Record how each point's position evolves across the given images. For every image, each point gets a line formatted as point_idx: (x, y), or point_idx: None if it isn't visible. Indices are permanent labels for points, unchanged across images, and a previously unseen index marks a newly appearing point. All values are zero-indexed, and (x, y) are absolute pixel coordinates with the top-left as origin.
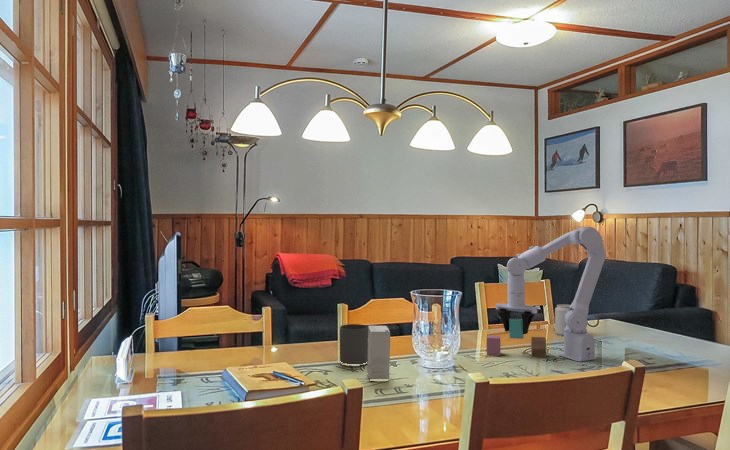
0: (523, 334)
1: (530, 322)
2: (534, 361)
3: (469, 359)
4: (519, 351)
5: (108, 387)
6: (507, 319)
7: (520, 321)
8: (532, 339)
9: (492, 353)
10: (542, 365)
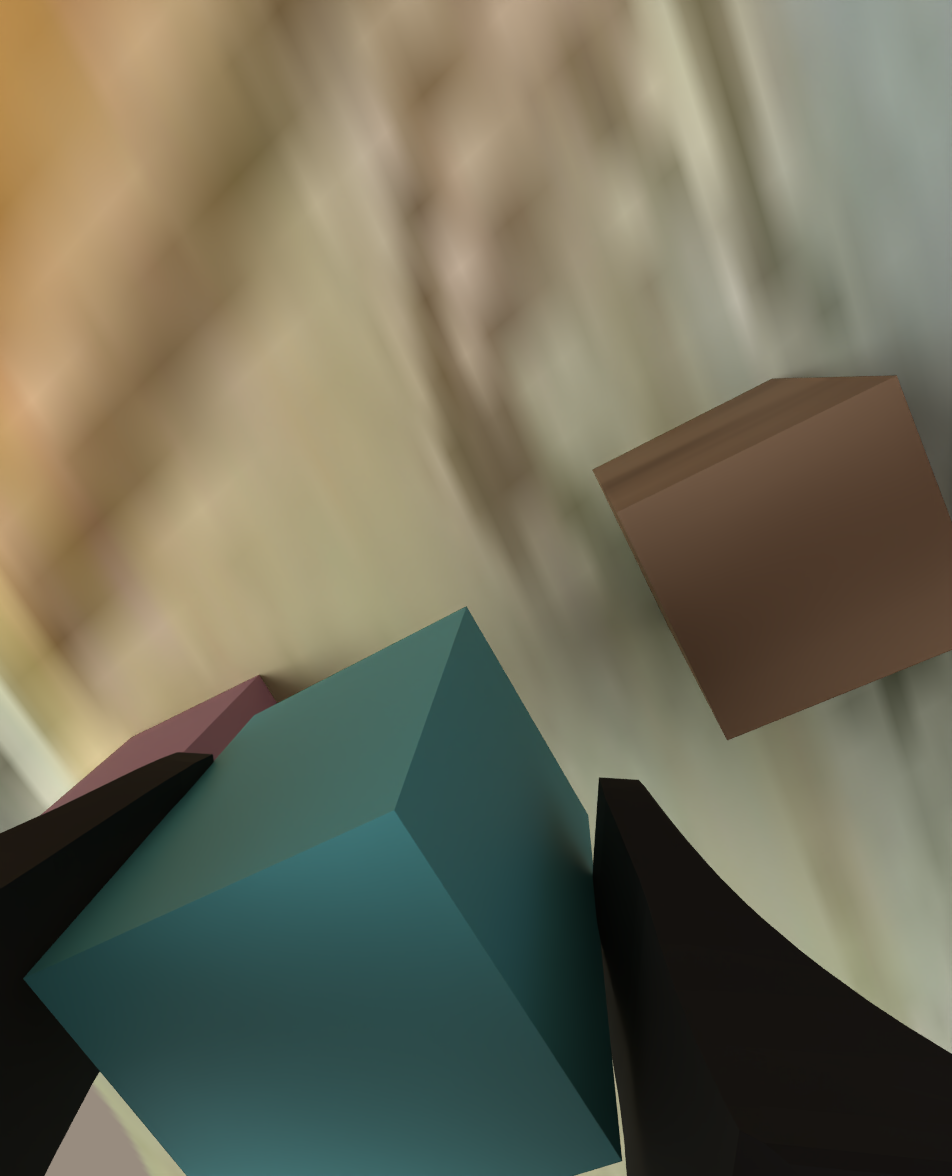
0: (592, 871)
1: (776, 938)
2: (773, 818)
3: None
4: (400, 438)
5: None
6: (36, 1019)
7: (534, 1172)
8: (731, 735)
9: None
10: (912, 927)
